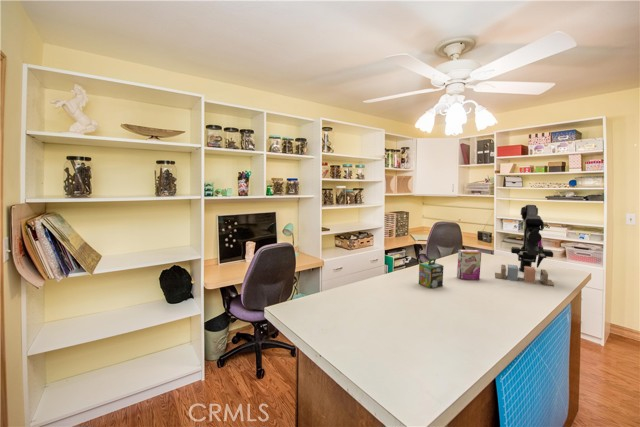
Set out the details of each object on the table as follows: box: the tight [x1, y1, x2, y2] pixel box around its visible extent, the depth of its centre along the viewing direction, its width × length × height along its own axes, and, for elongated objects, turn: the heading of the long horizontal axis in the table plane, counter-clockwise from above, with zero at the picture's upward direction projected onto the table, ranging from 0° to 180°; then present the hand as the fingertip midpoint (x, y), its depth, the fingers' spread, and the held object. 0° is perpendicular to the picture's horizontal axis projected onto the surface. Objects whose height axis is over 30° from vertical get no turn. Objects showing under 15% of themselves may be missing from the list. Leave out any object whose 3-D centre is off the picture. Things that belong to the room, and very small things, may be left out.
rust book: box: [523, 266, 537, 284], centre depth 163 cm, size 8×4×7 cm, turn 149°
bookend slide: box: [539, 268, 555, 287], centre depth 159 cm, size 10×5×6 cm, turn 149°
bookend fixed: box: [494, 264, 507, 280], centre depth 170 cm, size 10×5×6 cm, turn 149°
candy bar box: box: [456, 249, 482, 281], centre depth 167 cm, size 11×5×16 cm, turn 84°
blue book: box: [506, 264, 519, 282], centre depth 167 cm, size 8×4×7 cm, turn 149°
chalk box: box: [418, 258, 444, 289], centre depth 157 cm, size 9×9×15 cm
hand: (530, 266), depth 163 cm, fingers open, 6 cm apart
